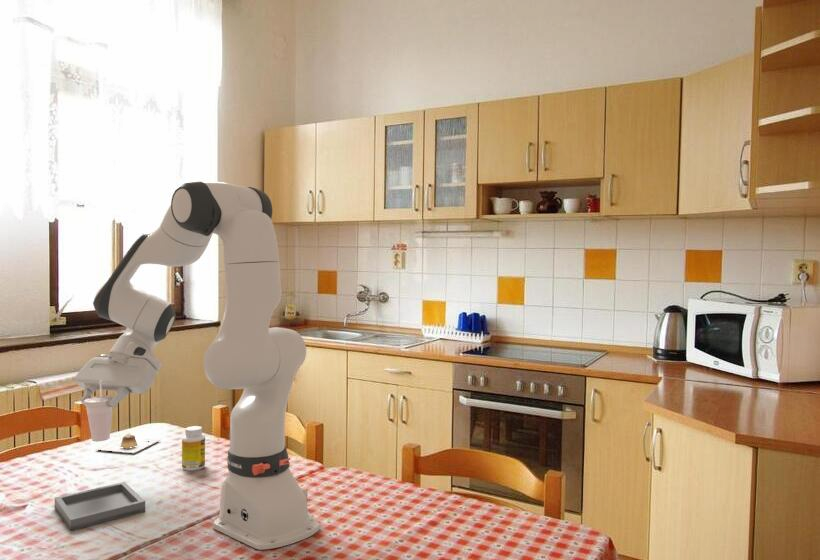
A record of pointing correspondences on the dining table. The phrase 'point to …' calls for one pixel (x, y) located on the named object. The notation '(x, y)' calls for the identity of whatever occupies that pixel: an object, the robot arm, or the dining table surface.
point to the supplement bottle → (193, 449)
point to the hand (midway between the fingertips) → (97, 404)
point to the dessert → (127, 443)
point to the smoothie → (99, 416)
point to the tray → (98, 505)
